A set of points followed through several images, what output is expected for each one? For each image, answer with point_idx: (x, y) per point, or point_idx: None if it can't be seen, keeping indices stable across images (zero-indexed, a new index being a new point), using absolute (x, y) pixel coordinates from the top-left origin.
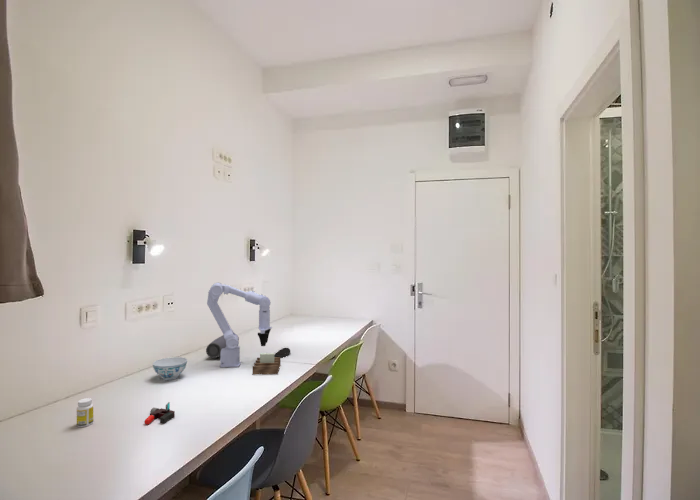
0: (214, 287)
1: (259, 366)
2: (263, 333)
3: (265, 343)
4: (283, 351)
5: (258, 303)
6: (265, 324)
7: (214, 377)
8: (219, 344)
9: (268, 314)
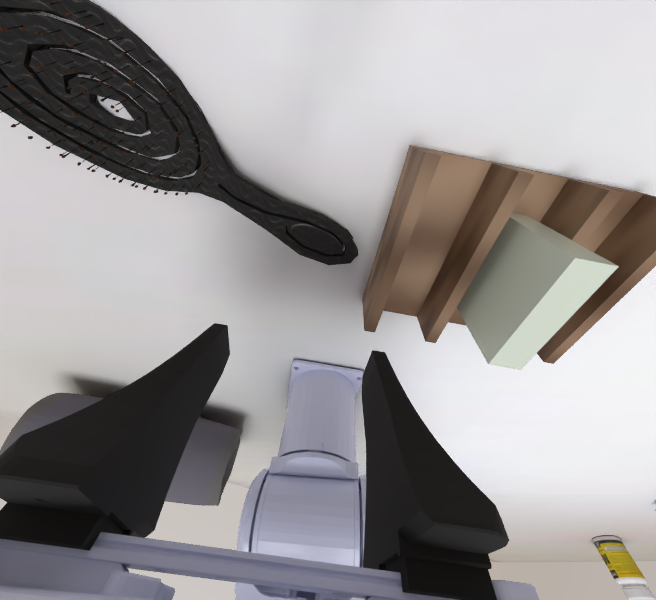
0: None
1: (584, 332)
2: (526, 590)
3: (395, 375)
4: (26, 72)
5: None
6: None
7: (462, 428)
8: (209, 483)
9: None
